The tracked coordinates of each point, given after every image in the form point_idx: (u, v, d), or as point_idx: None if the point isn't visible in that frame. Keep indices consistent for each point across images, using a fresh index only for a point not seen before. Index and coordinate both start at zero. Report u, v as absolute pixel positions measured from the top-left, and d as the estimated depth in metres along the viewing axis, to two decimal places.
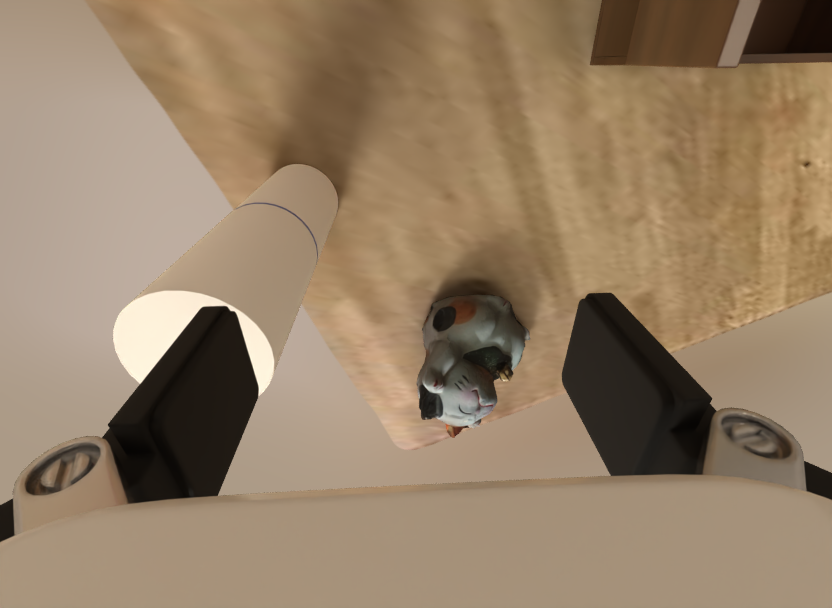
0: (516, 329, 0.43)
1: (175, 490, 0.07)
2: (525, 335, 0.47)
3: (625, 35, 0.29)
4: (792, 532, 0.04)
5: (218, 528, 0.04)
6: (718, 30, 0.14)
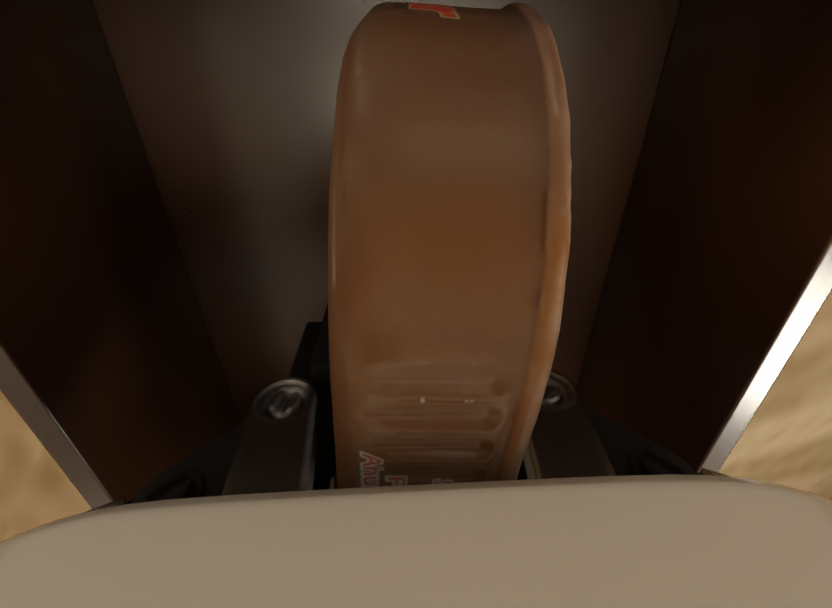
0: None
1: None
2: None
3: None
4: (792, 532, 0.04)
5: (218, 528, 0.04)
6: None
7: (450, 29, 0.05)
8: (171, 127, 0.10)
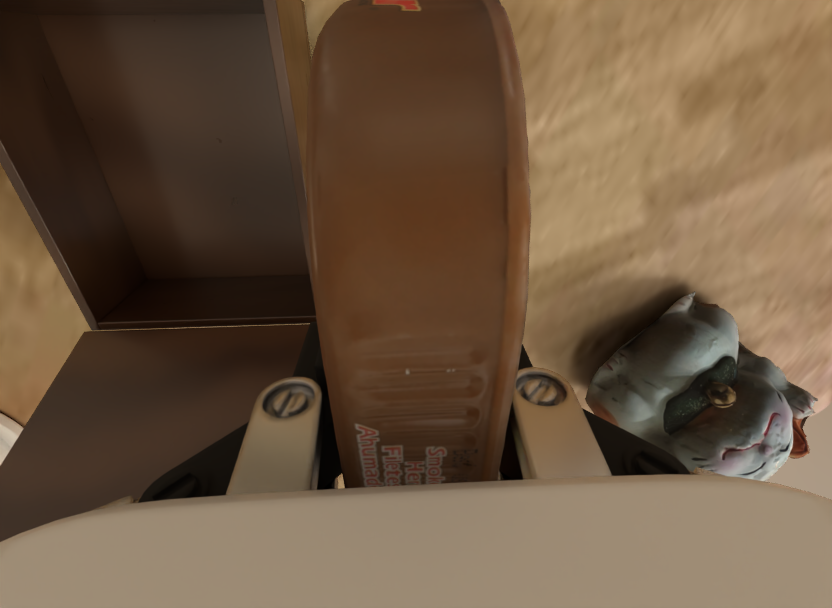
0: (655, 359, 0.30)
1: None
2: (680, 312, 0.32)
3: None
4: (792, 532, 0.04)
5: (218, 528, 0.04)
6: None
7: (411, 21, 0.05)
8: (78, 76, 0.23)
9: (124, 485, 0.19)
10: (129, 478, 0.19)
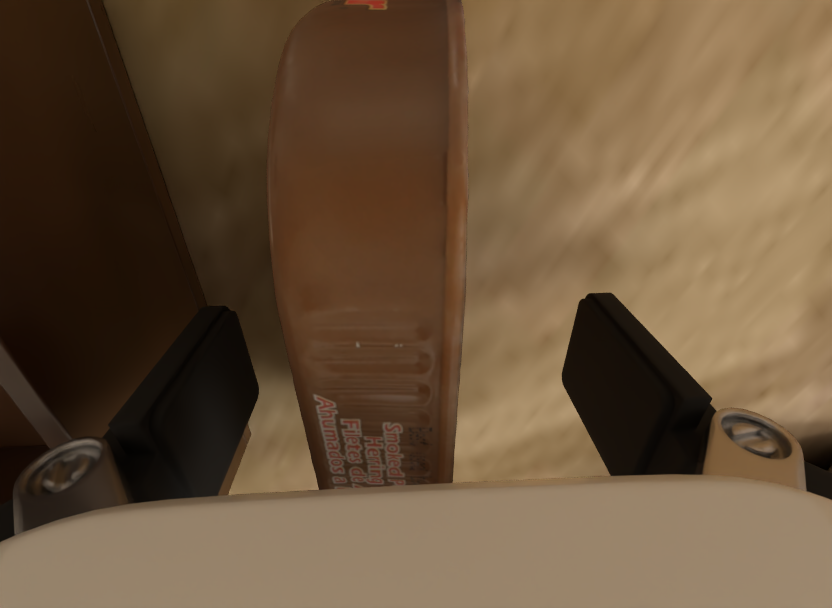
0: None
1: (175, 490, 0.07)
2: None
3: None
4: (792, 532, 0.04)
5: (218, 528, 0.04)
6: None
7: (374, 19, 0.05)
8: None
9: None
10: None
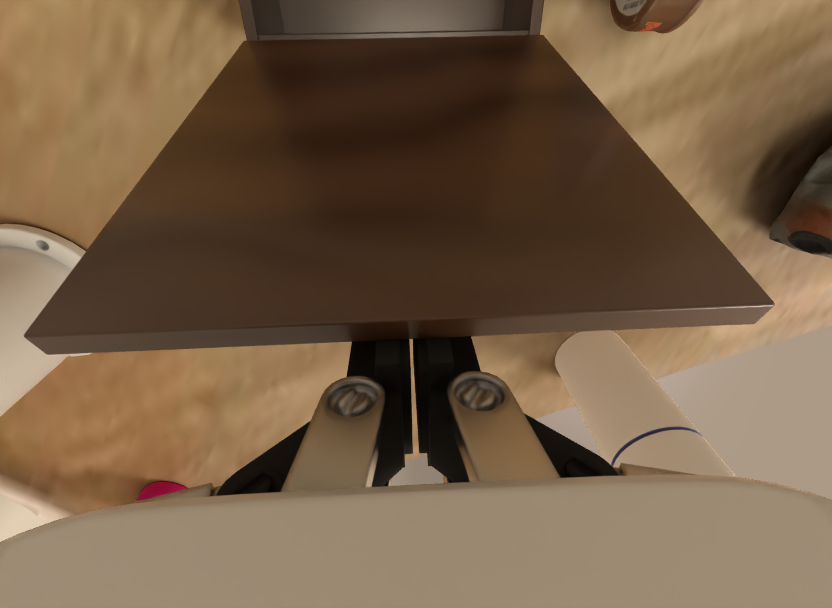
0: None
1: (402, 428, 0.09)
2: None
3: None
4: (792, 532, 0.04)
5: (218, 528, 0.04)
6: None
7: None
8: None
9: (370, 123, 0.14)
10: (374, 118, 0.14)
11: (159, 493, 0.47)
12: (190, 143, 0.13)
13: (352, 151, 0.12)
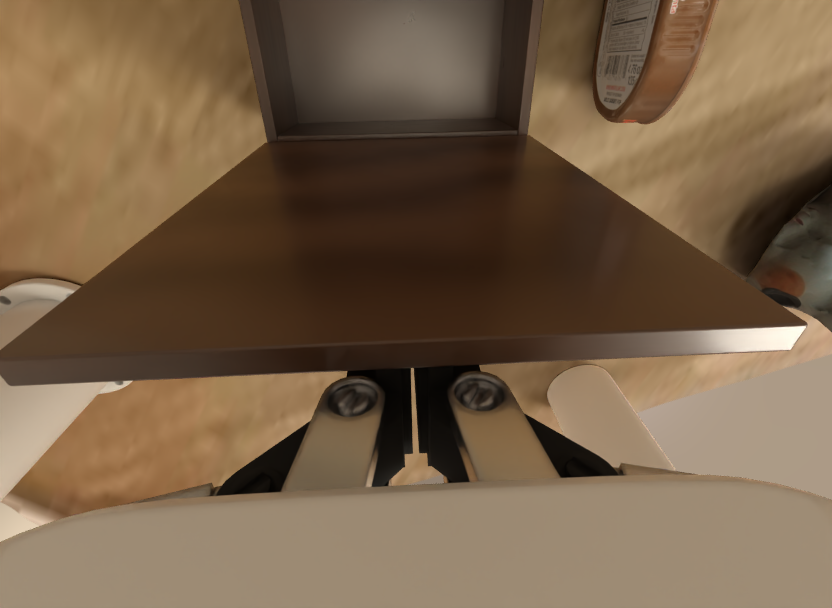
0: None
1: (402, 428, 0.09)
2: None
3: None
4: (793, 533, 0.04)
5: (218, 528, 0.04)
6: None
7: None
8: None
9: (374, 191, 0.14)
10: (378, 188, 0.15)
11: None
12: (203, 207, 0.13)
13: (356, 211, 0.13)
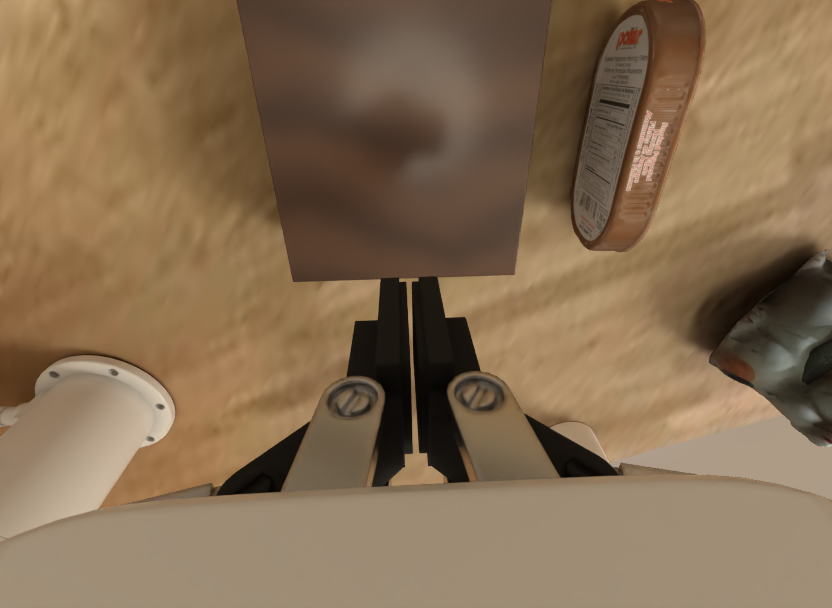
0: (798, 310, 0.32)
1: (403, 428, 0.09)
2: (816, 268, 0.33)
3: None
4: (792, 532, 0.04)
5: (218, 528, 0.04)
6: None
7: (672, 4, 0.20)
8: None
9: None
10: None
11: None
12: None
13: None
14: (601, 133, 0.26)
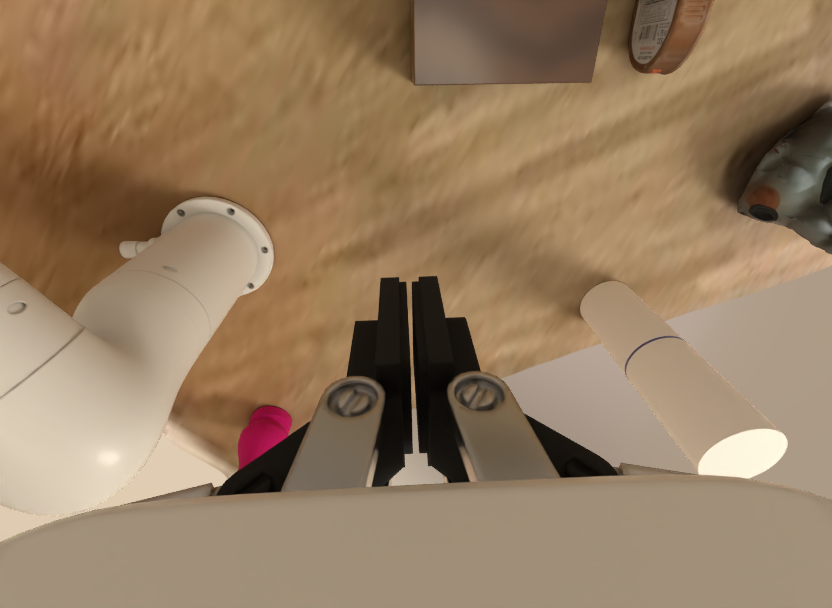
0: (817, 137, 0.38)
1: (402, 428, 0.09)
2: None
3: None
4: (792, 532, 0.04)
5: (218, 528, 0.04)
6: None
7: None
8: None
9: None
10: None
11: (269, 413, 0.60)
12: None
13: None
14: None
